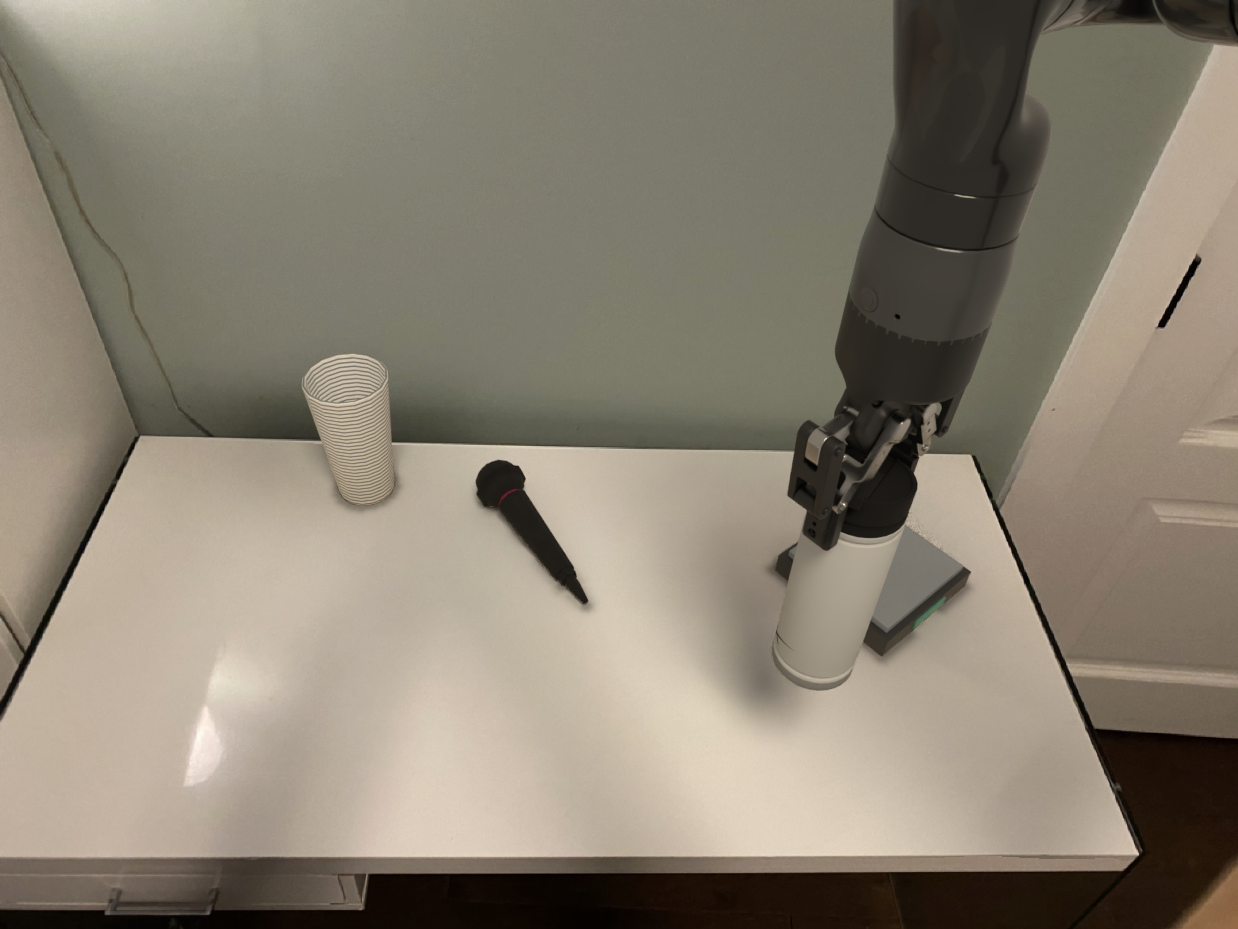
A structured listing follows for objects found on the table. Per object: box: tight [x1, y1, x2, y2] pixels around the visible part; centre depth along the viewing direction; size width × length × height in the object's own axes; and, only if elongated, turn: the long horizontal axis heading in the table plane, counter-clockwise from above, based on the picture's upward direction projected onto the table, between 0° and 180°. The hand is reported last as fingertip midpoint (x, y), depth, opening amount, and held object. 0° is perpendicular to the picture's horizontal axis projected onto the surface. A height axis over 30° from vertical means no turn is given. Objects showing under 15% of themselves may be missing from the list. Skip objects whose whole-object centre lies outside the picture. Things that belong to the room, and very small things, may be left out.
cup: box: [301, 352, 395, 506], centre depth 97 cm, size 8×8×16 cm
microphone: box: [475, 459, 589, 605], centre depth 96 cm, size 6×6×20 cm
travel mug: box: [771, 443, 919, 692], centre depth 63 cm, size 6×7×20 cm
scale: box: [774, 524, 972, 657], centre depth 94 cm, size 14×14×3 cm
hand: (855, 514), depth 59 cm, fingers closed on travel mug, 6 cm apart
